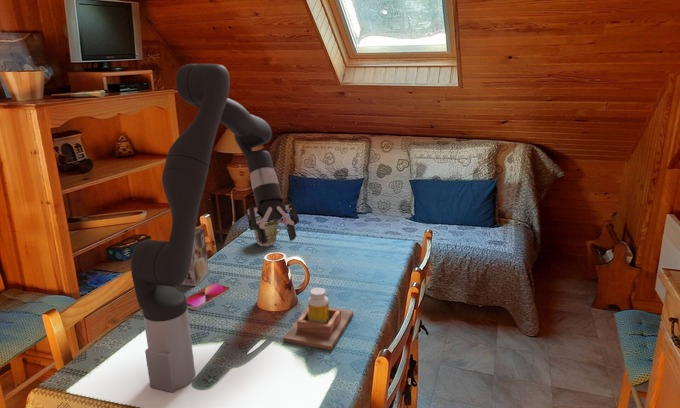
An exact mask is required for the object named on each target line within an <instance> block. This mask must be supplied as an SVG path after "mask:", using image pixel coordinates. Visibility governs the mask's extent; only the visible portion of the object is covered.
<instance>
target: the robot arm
mask: <svg viewBox="0 0 680 408" xmlns="http://www.w3.org/2000/svg"><path fill="white" fill-rule="evenodd" d="M229 73H230V72H229V71H228V69H227V68H226V67H225V66H224V65H223V64H218V63H217V64H216V63H188V64H184V65H182V66H180V68H179V69H178V70H177V72H176V76H175V87H176V91H177V93H178V95H179V96H180V98H181V99H182V100H183V101H184V102H185V103H187V104H189V105H191V106H193V107H195V108H197V109H199V110H198V113H197V115H196V116H195V118H194V119H193V121H192V122H191V123H190V125H188V126H187V128H186V129H185V130H183V132H182V133H180V135H179V136H178V137H177V138H176V139H175V141H174V142H173V143H172V144H171V146H170V147H169V150H168V151H167V154H166V157H165V162H164V166H163V169H162V170H163V171H162V175H161V183H162V188H163V192H164V195H165V197H166V200H167V203H168V205H169V208H170V212H171V213H170V214H171V229H170V235H169V238H168V241H167V240H156V239H144V240H141V241H140V242H138V243H137V244H136V245H135V247H134V249H133V251H132V254H131V257H130V270H131V278H132V282H133V286H134V291H135V297H136V300H137V304H138V306H139V308H140V309H141V310H142V316H143V323H144V330H145V331H144V332H145V337H146V344H147V349H145V350H144V352H145V360H146V365H147V366H146V367H147V372H148V379H149V386H150V388H153V389H157V390H161V391H164V392H170V393H174V392H176V391H177V390H179V389H181V388H184V387H186V386H187V385H189V384H190V383H192V382H193V380H195V376H196V367H195V359H194V353H193V352H194V351H193V342H192V336H191V335H192V334H191V326H190V317H189V311H188V309H189V308H188V307H187V300H186V298H187V297H186V295H185V294H184V293H183V291H180V290H179V289H177V288H176V287H179V286H182V285H181V284H182V283H183V282H184V280H185V279H186V277H187V275H188V272H189V269H190V264H191V259H192V252H193V244H194V236H195V229H196V228H197V221H198V217H199V211H200V205H201V201H202V196H203V193H204V189H205V185H206V182H207V179H208V178H207V177H208V173H209V167H210V163H211V156H212V153H213V148H214V143H215V140H216V136H217V131H218V129H219V125H220V123H221V124H222V125H224V127H226V128H227V129H228V130H229V131H230V132H232V134H233V136H234V137H233V138H234V140H235V142H236V144H237V146H238V148H239V149H240V150H241V151H240V152H242V155H243V156H244V159H245V161H246V164H247V168H248V172H249V177H250V185H251V189H252V193H253V197H254V198H253V199H254V202H255V205H256V207H254V206H250V207H248V209H247V210H246V216H247V222H248V229H249V230H250V231H254V230H256V231H257V233H258V237H259V241H260V243H261V242H262V244H266V243H267V238H266V233H265V229H263V227H264V225H265V223H266V222H272V221H274V222H277V221H280V223H281V224H283V225H284V226H286V227H287V228H286V230H287V234H288V239H289V241H294V240H296V238H297V233H296V229H295V226H296V225H297V224H298V223H300V219H299V215H298V212H297V208H296V205H295V203H294V202H291V203H290V204H284V202H283V201H284V200H283V195H282V192H281V188H280V187H281V186H280V184H279V183H280V182H279V179H278V176H277V173H276V171H275V167H274V164H273V159H272V156H271V153H270V152H269V151H267V150H264V149H263V150H260V149H259V150H253V149H254V148H256V147H259V146H260V147H261V146H262V145H264V144H265V145H266V144H268V143H269V142H270V141H271V139H272V137H273V132H272V129H271V127H270V125H269V123H268V122H267V121H266V120H265V119H263V118H261V117H259V116H256V115H254V114H251V113H250V112H249V111H248V110H247V109H246V108H245V107H244V106H243V105H242V104H241V103H239V102H237V101H235V100H233V99H231V98H229V93H230V87H231V85H230V84H231V79H230V74H229ZM285 211H286V212H285ZM256 215H260V216H261V219H260V221H259V223H258V225H257V223H256V218H255V216H256Z"/></svg>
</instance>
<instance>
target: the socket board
mask: <svg viewBox="0 0 680 408" xmlns="http://www.w3.org/2000/svg"><path fill="white" fill-rule="evenodd" d="M353 316H354V310H348V309H344V308H343V309H342V308H337V307H329V323H328V324H323V323H318V322H312V321H309V317H308V306H307V307H306V308H305V309H304V310H303V312H302V313H301V314H300V316H299V317H298V318H297V319H296V321H295V322H294V323H293V324H292V326H291V327H290V328H289V329H288V331H287V332H286V333H285V334H284V336H283V337H282V342H284V343H288V344H294V345H298V346H304V347H310V348H315V349H320V350H326V351H333V349H334V347H335V346H336V344H337V342H338V341H339V339H340V337H341V335H343V333H344V330H345V329H346V328H347V326H348V324H349V322H350V321H351V319H352V317H353Z"/></svg>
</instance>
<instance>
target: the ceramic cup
mask: <svg viewBox="0 0 680 408" xmlns="http://www.w3.org/2000/svg"><path fill="white" fill-rule="evenodd" d="M255 218H256V223H257V225H258V223H259V221H260V219H261V216H260V215H259V214H256V215H255ZM280 223H281V222H280V221H277V222H274V221H272V222H266V223H265V225H264V227H263V229H265V233H266V238H267V243H266V244H262V242H261V243H260V241H259V237H258V233H257V231H256V230H253V232H254V236H255V240H256V243H257V245H258V246H261V247H271V246H274V245H275V243H276V241H277V235H278V234H279V233H280V232H281V231H282V230H284V229H285V228H286V227H287V226H285V225H284V226H283V227H282V228H280V229H279V230H278V226H279V225H280Z"/></svg>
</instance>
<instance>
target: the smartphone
mask: <svg viewBox="0 0 680 408" xmlns="http://www.w3.org/2000/svg"><path fill="white" fill-rule="evenodd" d="M230 290H231V288H230V287H229V286H226V285H222V284H219V283H214V282H213V283H211V284H209V285H207V286H205V287H204V288H201V289H200V290H198V291H197V292H194V293H192V294H191V295H189V296H188V297H186V300H187V307H188V309H190V310H193V311H197V310H200V309H201V308H204V306H206V305H208V304H209V303H211V302H213V301H214V300H216V299H218V298H220V297H221V296H223V295H224V294H226V293H227V292H229V291H230Z"/></svg>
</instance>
